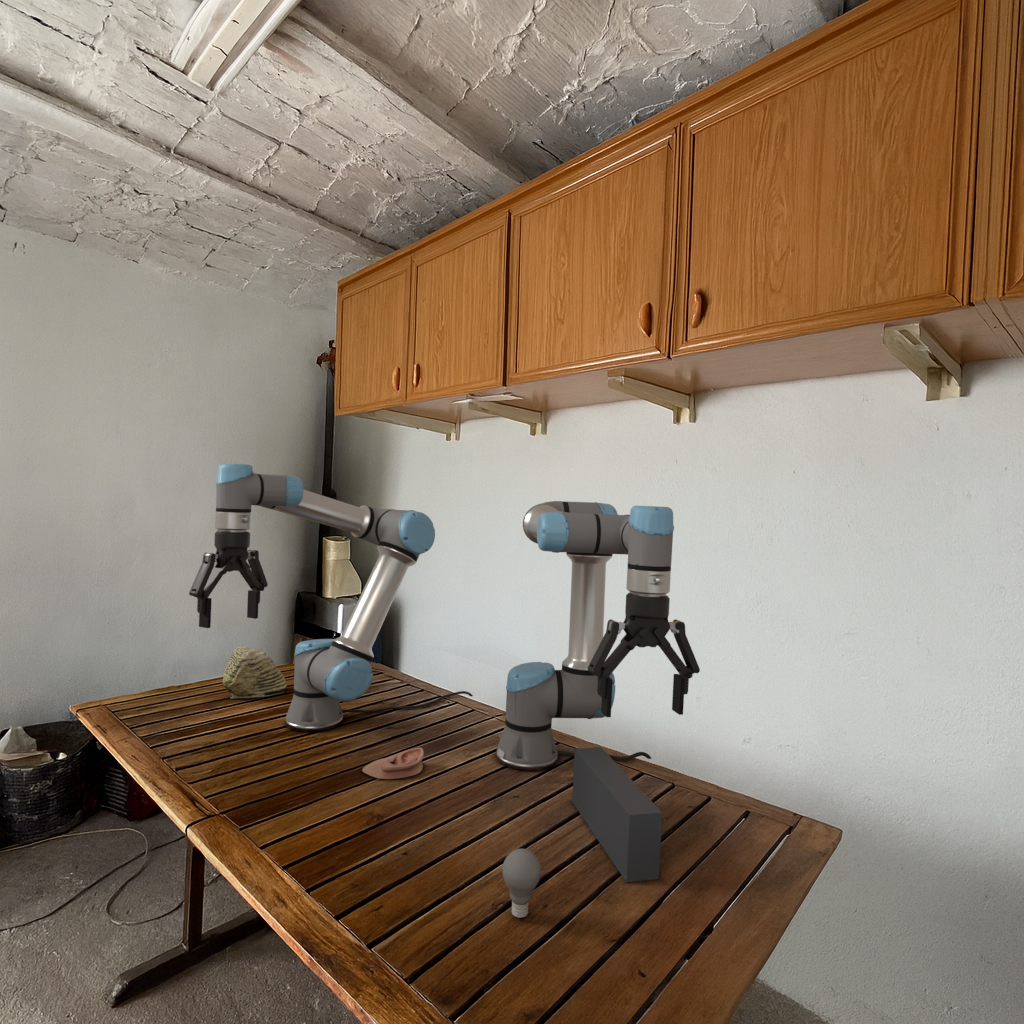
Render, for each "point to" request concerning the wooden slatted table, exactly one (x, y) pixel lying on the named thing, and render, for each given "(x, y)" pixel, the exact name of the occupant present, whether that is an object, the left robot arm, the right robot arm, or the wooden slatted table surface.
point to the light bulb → (521, 878)
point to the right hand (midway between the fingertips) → (642, 713)
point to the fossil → (252, 674)
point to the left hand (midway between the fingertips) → (229, 622)
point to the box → (618, 814)
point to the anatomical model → (397, 765)
